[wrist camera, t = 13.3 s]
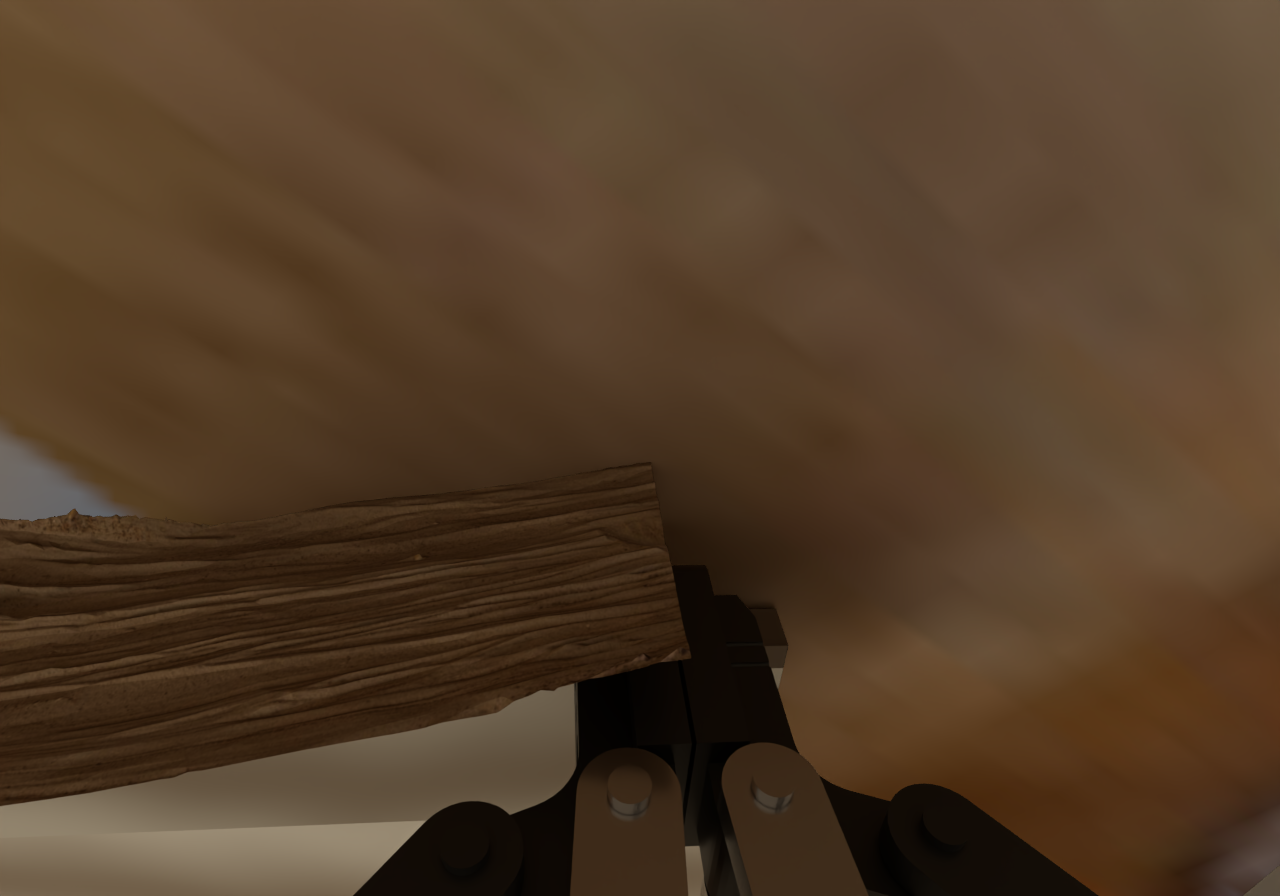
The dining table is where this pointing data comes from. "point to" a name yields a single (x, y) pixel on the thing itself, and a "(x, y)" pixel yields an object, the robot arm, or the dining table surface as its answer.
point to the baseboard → (1267, 885)
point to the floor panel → (301, 808)
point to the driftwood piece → (315, 624)
